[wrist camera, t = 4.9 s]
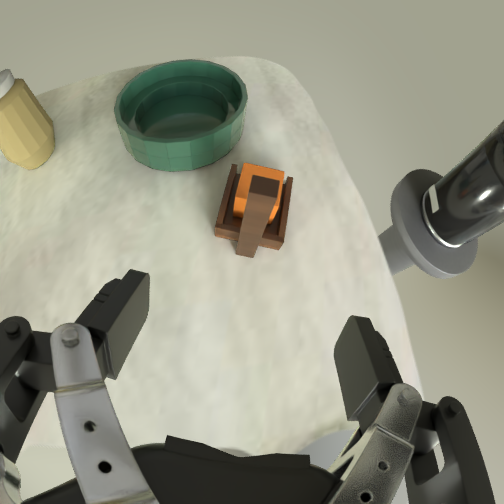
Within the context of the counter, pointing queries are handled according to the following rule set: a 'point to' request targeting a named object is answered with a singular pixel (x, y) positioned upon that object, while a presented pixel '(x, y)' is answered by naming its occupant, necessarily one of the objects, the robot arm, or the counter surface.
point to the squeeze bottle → (23, 124)
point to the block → (245, 184)
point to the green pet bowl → (181, 114)
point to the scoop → (254, 214)
